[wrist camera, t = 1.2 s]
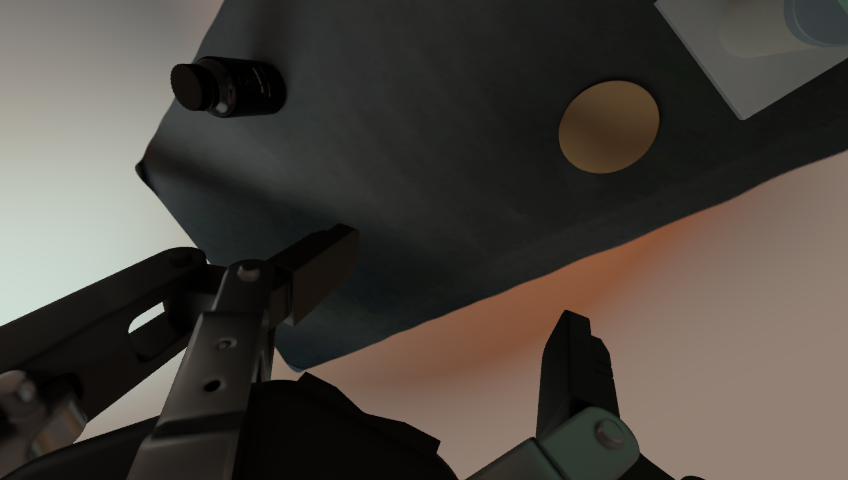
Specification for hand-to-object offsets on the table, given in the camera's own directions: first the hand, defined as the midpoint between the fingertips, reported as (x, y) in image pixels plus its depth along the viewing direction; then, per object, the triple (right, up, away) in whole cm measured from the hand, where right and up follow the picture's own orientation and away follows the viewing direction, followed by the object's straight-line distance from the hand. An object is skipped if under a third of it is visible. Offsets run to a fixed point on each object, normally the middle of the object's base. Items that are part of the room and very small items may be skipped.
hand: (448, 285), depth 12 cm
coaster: (+18, +13, +22) cm, 31 cm away
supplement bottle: (-23, +23, +35) cm, 48 cm away
